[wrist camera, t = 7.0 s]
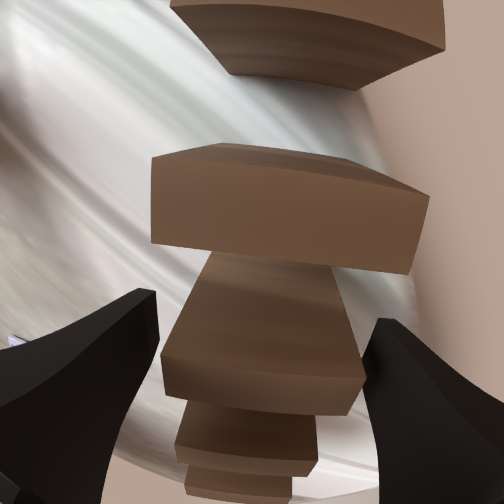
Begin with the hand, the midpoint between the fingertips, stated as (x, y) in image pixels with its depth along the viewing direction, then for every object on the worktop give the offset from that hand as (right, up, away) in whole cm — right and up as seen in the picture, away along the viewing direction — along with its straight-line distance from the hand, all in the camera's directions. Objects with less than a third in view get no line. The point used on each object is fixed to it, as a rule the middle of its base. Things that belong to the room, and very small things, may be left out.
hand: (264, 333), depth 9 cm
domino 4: (0, -2, +6) cm, 6 cm away
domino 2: (+1, +6, +2) cm, 6 cm away
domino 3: (0, +2, +4) cm, 4 cm away
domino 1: (+1, +10, +1) cm, 10 cm away
